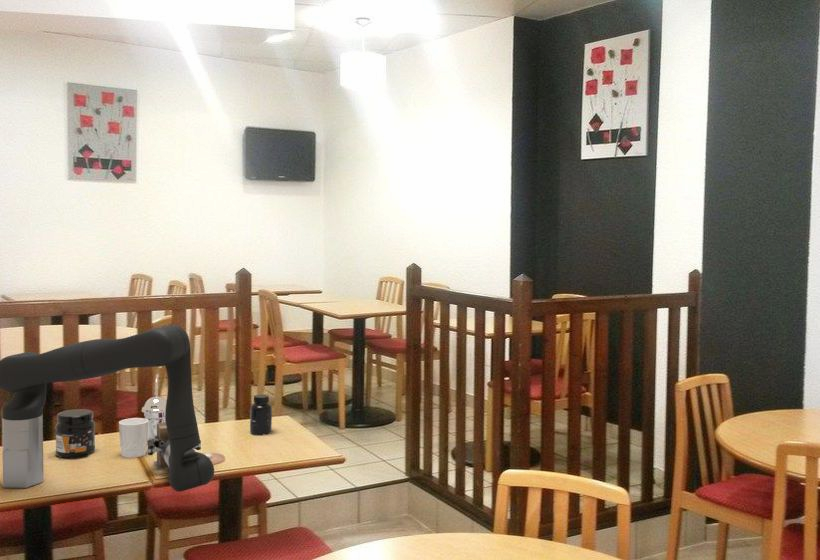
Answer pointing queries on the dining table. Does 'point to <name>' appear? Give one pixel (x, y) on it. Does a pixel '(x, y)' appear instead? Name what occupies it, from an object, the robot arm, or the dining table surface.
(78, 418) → the supplement container
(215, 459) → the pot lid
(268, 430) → the supplement bottle
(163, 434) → the tall wooden block
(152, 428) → the cup with straw
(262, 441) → the dining table surface
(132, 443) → the white cup
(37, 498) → the dining table surface
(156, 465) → the coaster
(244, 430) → the dining table surface
